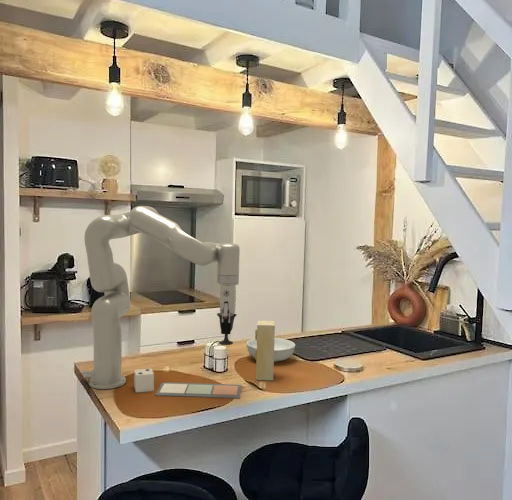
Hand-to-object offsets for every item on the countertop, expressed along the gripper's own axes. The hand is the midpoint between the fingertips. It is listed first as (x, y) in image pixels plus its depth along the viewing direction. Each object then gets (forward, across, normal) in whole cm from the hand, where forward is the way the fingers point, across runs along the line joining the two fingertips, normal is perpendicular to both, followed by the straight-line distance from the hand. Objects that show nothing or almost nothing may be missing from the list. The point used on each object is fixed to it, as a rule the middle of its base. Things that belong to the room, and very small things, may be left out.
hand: (226, 331), depth 166 cm
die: (+21, 0, +28) cm, 35 cm away
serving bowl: (+22, +39, -17) cm, 48 cm away
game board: (+21, 0, +9) cm, 23 cm away
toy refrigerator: (+21, +16, -14) cm, 30 cm away
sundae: (+4, 0, 0) cm, 4 cm away
